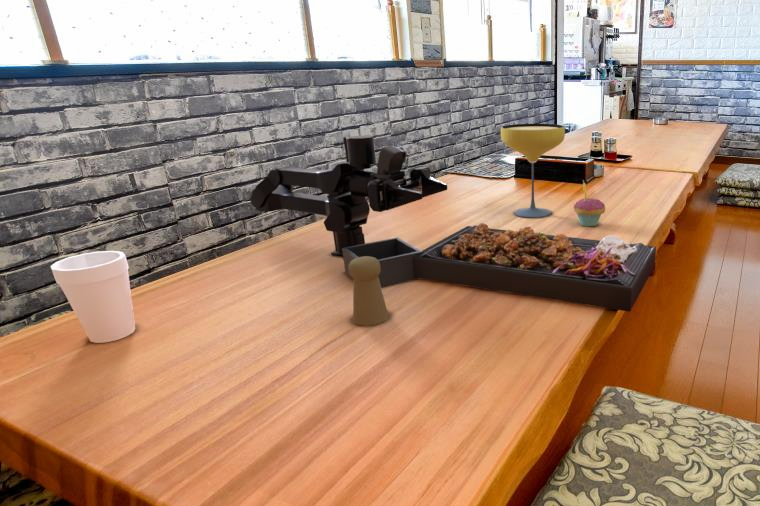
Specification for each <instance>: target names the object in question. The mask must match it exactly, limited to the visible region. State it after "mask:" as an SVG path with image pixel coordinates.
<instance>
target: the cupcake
mask: <svg viewBox="0 0 760 506" xmlns="http://www.w3.org/2000/svg"><path fill="white" fill-rule="evenodd" d="M582 189H583V196H584V198H581V199H579V200H577V201H576V202H575V203H574V205H573V211H574V212H575V213H576V215H577V218H578V221H579V224H580V225H581V226H583V227H596V226H597V225H598V224H599V221H600V218H601V216H602V214H604V213H605V212H606V205H605V203H604V202H603V201H601V200H600V199H597V198H592V197H591V198H589V197H588V193H587V186H586V182H585V180H584V179H582Z"/></svg>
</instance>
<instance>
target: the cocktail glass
mask: <svg viewBox="0 0 760 506" xmlns="http://www.w3.org/2000/svg"><path fill="white" fill-rule="evenodd" d="M565 135H566V128H565V126H564V125H562V124H554V123H516V124H515V123H514V124H507V125H503V126H501V128H500V140H501V142H502V143H504V145H505V146H506V147H508V148H510V149H512V150H514V151H515V152H517V153H519V154H521V155H523V156H524V158H525V159H526V160H527V162H529V163H530V164H531V196H530V197H531V199H530V206H529V207H524V208H520V209H517V210H515V211H514V214H515V216H517V217H520V218H526V219H536V218H545V217H548V216H550V215H551V214H552V211H551V210H549V209H547V208H540V207H536V203H535V176H534V175H535V163H537V162H538V161H539V160H540V158H541V156H543V155H544V154H546V153H548V152H549V151H551V150H553V149H555V148H557V147H558V146H560V145H561V144H562V142H563V141H564V140H565Z"/></svg>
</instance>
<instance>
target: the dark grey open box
mask: <svg viewBox="0 0 760 506" xmlns="http://www.w3.org/2000/svg"><path fill="white" fill-rule="evenodd" d="M342 252H343V256H342V258H343V266H344V273H345V274H346V275H347V276H348V277H349V278H351V280H353V281H354V279H353V278H352V277H351V276H350V273H349V264H350V262H351V261H352V260H353V259H355V258H358V257H364V256H370V257H374V258H376V259H377V260H378V261H379V263H380V268H381V270H380V274H379V275H378V277H379V281H380V285H381V288H384V287H389V286H393V285H398V284H401V283H406V282H410V281H414V280H418V279H419V278H414V274H413V263H412V257H413V256H417V257H420V255H422V254H423V251H422V250H421V249H419V248H418V247H416V246H414V245H413V244H410V242H407V241H405V240H403V239H402V238H400V237H398V236H397V237H392V238H388V239H382V240H377V241H372V242H365V244H361V245H355V246H350V247H345V248H342Z"/></svg>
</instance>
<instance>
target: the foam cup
mask: <svg viewBox="0 0 760 506" xmlns="http://www.w3.org/2000/svg"><path fill="white" fill-rule="evenodd" d="M50 269H51V272H52V274H53V278H54V280H55V282H56V284H57V285H59V287H60V289H61V290H62V292H63V294H64V296H65V297H66V300H67V301H68V303H69V305H70V307H71V308H72V310H73V312H74V314H75V316H76V318H77V320H78V321H79V324H80V325H81V327H82V329H83V331H84V332H85V334H86V336H87V338H88V340H89V341H90V343H95V344H100V343H101V344H102V343H109V342H114V341H118V340H121V339H123V338H127V337H129V336H130V335H132V334H133V333H134V332H135V330H136V322H135V314H134V307H133V298H132V292H131V284H130V283H131V282H130V276H129V269H130V266H129V263H128V260H127V256H126V254H125V253H124V252H123V251H120V250H119V251H118V250H100V251H99V250H98V251H91V252H85V253H80V254H77V255H73V256H72V255H71V256H68V257H66V258H63V259H60V260H58V261H55V262H54V263H53V264H51V265H50Z"/></svg>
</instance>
